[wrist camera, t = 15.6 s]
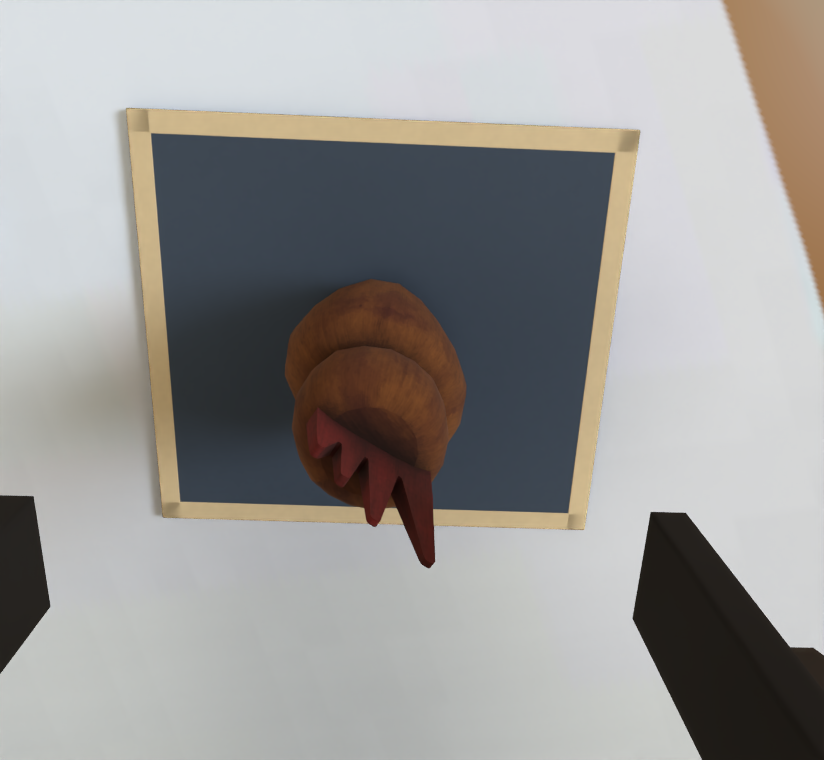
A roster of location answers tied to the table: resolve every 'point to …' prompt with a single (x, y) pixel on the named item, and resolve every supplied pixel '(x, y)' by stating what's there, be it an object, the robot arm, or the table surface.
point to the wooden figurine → (376, 402)
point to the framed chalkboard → (387, 261)
